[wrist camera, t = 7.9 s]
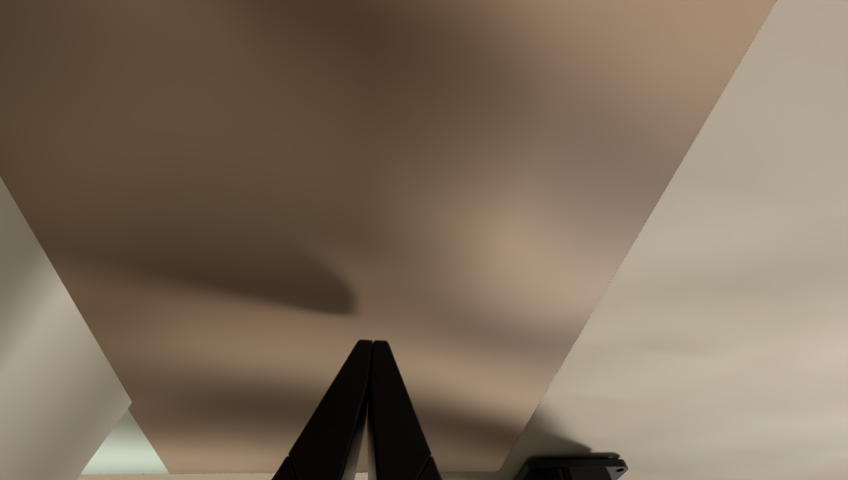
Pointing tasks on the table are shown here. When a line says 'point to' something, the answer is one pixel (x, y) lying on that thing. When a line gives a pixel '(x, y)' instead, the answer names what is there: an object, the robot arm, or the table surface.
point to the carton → (47, 365)
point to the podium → (345, 197)
